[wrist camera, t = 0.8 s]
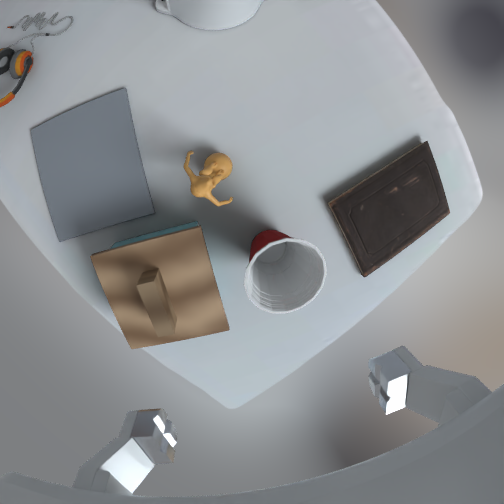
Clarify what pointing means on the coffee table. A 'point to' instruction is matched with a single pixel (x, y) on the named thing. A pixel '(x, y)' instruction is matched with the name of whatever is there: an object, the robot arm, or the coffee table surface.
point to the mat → (92, 167)
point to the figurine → (209, 176)
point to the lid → (162, 288)
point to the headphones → (21, 58)
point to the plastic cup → (283, 272)
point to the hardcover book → (391, 208)
